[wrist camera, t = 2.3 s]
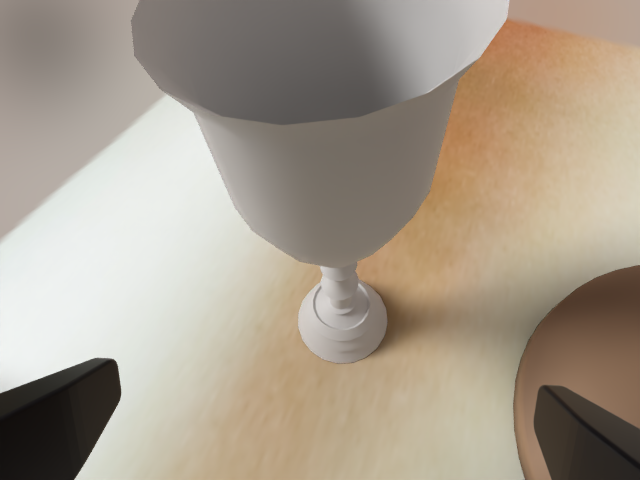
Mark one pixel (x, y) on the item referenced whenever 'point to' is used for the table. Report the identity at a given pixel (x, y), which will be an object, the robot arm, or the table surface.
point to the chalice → (321, 125)
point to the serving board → (583, 357)
